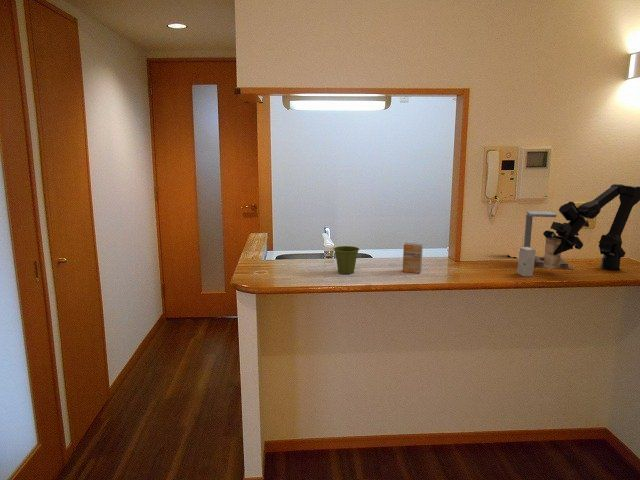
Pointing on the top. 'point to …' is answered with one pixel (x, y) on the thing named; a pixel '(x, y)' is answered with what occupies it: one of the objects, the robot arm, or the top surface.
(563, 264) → the tan flat wooden frame
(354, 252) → the plant pot
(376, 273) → the top surface
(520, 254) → the skincare box
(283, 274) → the top surface
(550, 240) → the peg
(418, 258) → the supplement box
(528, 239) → the grey l-shaped rod
